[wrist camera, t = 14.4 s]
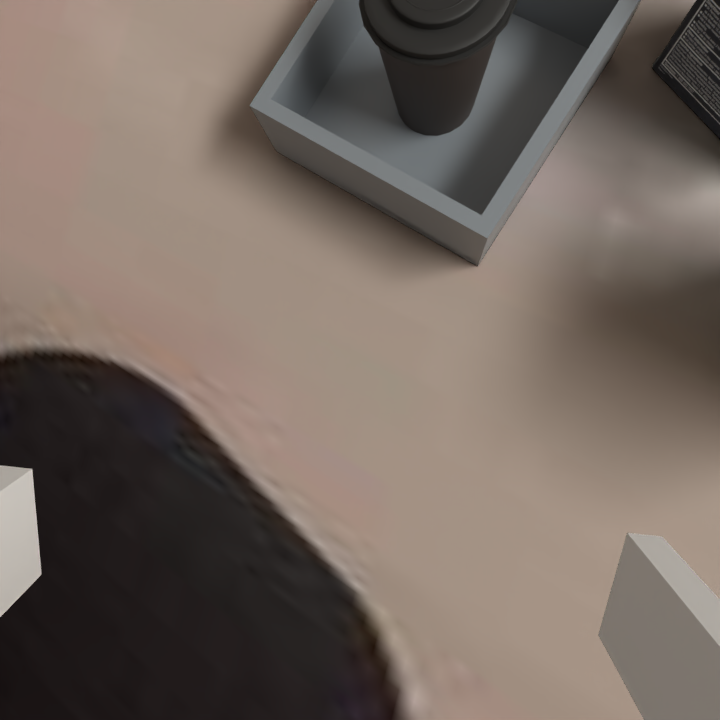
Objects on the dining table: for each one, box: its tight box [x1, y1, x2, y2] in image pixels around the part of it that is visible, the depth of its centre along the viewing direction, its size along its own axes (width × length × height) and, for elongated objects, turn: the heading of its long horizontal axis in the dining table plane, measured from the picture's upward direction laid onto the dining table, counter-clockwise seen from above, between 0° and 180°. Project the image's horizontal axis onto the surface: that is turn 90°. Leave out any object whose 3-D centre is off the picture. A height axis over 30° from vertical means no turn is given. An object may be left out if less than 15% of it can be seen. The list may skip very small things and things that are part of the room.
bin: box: [249, 0, 641, 266], centre depth 32 cm, size 17×17×6 cm
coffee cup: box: [359, 0, 517, 136], centre depth 29 cm, size 8×8×10 cm
